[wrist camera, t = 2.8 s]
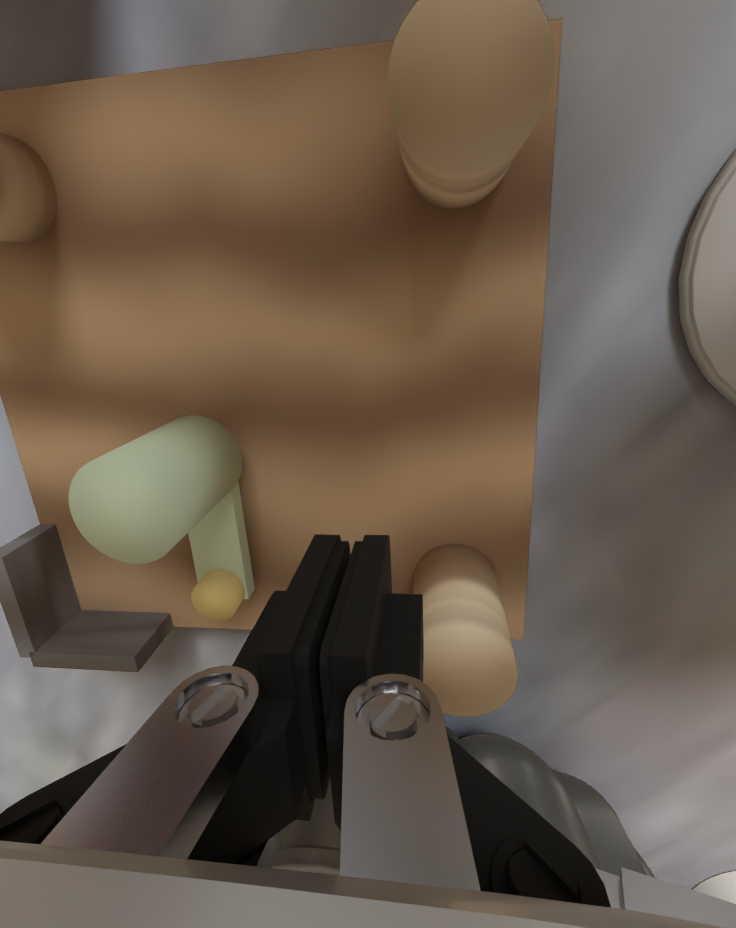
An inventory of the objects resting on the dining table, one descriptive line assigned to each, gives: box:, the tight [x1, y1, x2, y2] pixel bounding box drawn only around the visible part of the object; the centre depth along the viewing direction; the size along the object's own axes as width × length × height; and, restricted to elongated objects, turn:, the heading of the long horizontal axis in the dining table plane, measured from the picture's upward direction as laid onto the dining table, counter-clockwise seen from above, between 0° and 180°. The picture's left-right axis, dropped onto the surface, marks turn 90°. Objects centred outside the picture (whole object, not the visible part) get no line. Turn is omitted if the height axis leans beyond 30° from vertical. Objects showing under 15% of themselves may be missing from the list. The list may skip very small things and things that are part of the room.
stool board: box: [0, 0, 562, 717], centre depth 18 cm, size 22×22×8 cm
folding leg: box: [69, 415, 255, 621], centre depth 18 cm, size 9×4×6 cm, turn 3°
